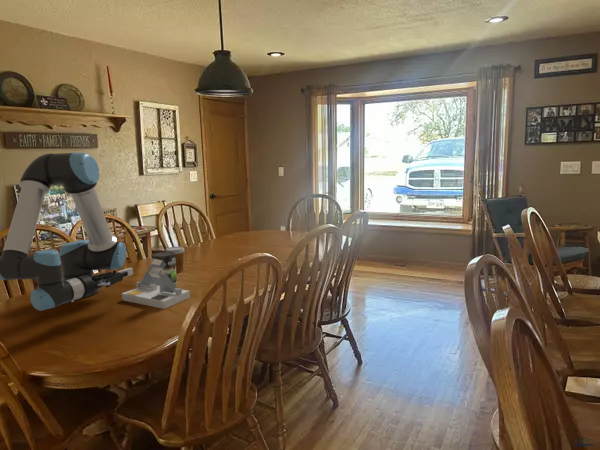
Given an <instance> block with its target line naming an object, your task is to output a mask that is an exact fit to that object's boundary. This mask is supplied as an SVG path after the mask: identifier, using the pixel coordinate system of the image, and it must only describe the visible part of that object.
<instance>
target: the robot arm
mask: <svg viewBox="0 0 600 450" xmlns="http://www.w3.org/2000/svg"><path fill="white" fill-rule="evenodd" d="M99 171H100V168H99V165H98V162H97V160H96V159H95V158H94V157H93V156H92V155H91V154H89V153H85V152H76V151H74V152H67V153H66V152H64V153H63V152H62V153H45V154H41V155H40V156H38V157H37V158H35V159H34V160H32V161H31V162H30V163H29V165H28V166H27V168H26V169H25V170H24V171H23V173H22V175H21V177H20V180H19V184H18V187H19V188H20V193H19V195H18V199H17V203H16V204H15V205H16V206H15V209H14V212H13V215H12V220H11V222H10V226H9V229H8V230H9V231H7V232H8V233H7V236H6V239H5V242H4V247H3V248H2V251H1V256H0V281H12V280H13V281H14V280H36V283H37V287H36V289H33V290H32V291H31V292H30V297H29V298H30V303H31V305H32V307H33V308H34V309H35V310H36V311H40V312H41V311H45V310H46V311H47V310H49V309H53V308H56V307H58V306H61V305H64V304H67V303H70V302H71V303H74V302H75V300H78V299H82V298H87V297H90V296H94V295H97V294H98V293H99V292H100V289H101V288H102V287H105V288H110V287H111V286H113V285H115V284H117V283H119V282H121V281H123V280H124V278H127V277H129V276H132V275H134V269H133V267H128V268H125V269H122V268H123V266H124V264H125V262H126V258H127V246H126V244H125V243H124V242H122V241H118V239H117V237H116V235H114V234H112V233H111V230H110V228H109V223H108V222H107V218H106V217H105V213H104V211H103V207H102V205H101V202H100V199H99V197H98V195H97V191H96V189H95V188H96V187H97V185H98V181H99V179H100V172H99ZM58 185H59V186H62V187H63V190H64V191H65V193H66V194H68V195H71V199H72V200H73V203H74V205H75V207H76V211H77V213H78V215H79V218H80V220H81V222H82V226H83V228H84V230H85V232H86V235H87V239H79V240H73V241H71V242H67V243H64V244H62V245H60V247H59V251H58V250H57V249H51V248H49V249H43V250H38V251H34V253H33V256H29V253H30V250H31V247H32V242H33V241H34V240H33V239H34V236H35V232H36V227H37V224H38V221H39V217H40V214H41V210H42V206H43V204H44V203H43V202H44V200H45V195H47V194H48V193H49V192H50V189H51V187H52V186H58ZM120 269H121V270H120ZM117 270H118V271H117ZM94 271H108V272H104V273H99V274H96V275H94ZM112 271H113V272H112Z"/></svg>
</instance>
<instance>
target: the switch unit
mask: <svg viewBox="0 0 600 450" xmlns="http://www.w3.org/2000/svg"><path fill="white" fill-rule="evenodd" d="M141 281H142V280H140V281H137V282H135V288H133V289H130V290H128V291H125V292H122V293H121V297H122V298H121V299H122V301H125V302H128V303H135V304H138V305H144V306H149V307H154V308H158V309H163V310H165V309H167V308H170V307H173V306H174V305H176V304H179V303H181V302H183V301H187V300H188V299H190V298H191V296H190V295H191V294H190V290H187V289H182V288H181V287H179V288H177V289H175V293H169V292H164V291H163V290H162V288H161V287H160V286H158V285H157V284H153V285H150V287H151V288H145V287H140V286H139V283H140V282H141Z"/></svg>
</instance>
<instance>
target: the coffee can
mask: <svg viewBox="0 0 600 450" xmlns="http://www.w3.org/2000/svg"><path fill="white" fill-rule="evenodd" d="M151 258H152V259H151V260H152V261H151V263H152V262H153V260H154V259H155V260H162V261H164V262H165V263H166V265H165V267H164V269H163V270H164V272H165V273H166V274H167V276H168V277H169V278H170V279H171V281H172V282H173V283H174V285H176V284H178V275H177V273H176V262H175V252H169V251H168V252H165V251H159V252H154V253H152V254H151ZM155 284H157V282H156V283H155ZM157 285H158V284H157ZM158 286H159V285H158Z"/></svg>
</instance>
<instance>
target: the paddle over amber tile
mask: <svg viewBox="0 0 600 450" xmlns="http://www.w3.org/2000/svg"><path fill="white" fill-rule="evenodd" d="M165 265H166V263H165V262H164V261H162V260H155V259H154V260H153V262H152V261H151V264H150V266H149V267H148V269H147V271H146V272H145V274H144V276H143V277H142V279H141V280H140V281H141V282H140V281H139V282H140V283H139V286H140V287H145V288H151V287H150V285H153V284H155V283H156V281H155V280H154V279H153V277H152V276H151V275H150V274H149V272H150V270H151V269H152V268H153V267H155V268H162V269H164V267H165Z"/></svg>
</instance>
